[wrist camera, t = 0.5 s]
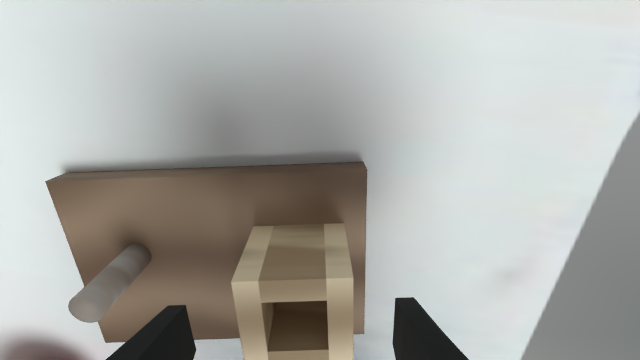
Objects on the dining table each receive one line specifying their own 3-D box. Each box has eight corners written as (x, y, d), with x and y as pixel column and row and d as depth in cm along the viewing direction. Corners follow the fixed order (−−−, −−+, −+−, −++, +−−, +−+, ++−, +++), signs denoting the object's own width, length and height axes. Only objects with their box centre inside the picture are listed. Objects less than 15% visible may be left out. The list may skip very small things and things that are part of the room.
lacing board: (360, 317, 22) (375, 400, 17) (118, 325, 23) (52, 411, 17) (363, 161, 18) (383, 203, 13) (66, 172, 18) (-45, 218, 13)
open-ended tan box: (344, 296, 20) (353, 366, 15) (262, 299, 20) (245, 370, 15) (344, 223, 18) (353, 277, 13) (253, 226, 18) (230, 281, 13)
